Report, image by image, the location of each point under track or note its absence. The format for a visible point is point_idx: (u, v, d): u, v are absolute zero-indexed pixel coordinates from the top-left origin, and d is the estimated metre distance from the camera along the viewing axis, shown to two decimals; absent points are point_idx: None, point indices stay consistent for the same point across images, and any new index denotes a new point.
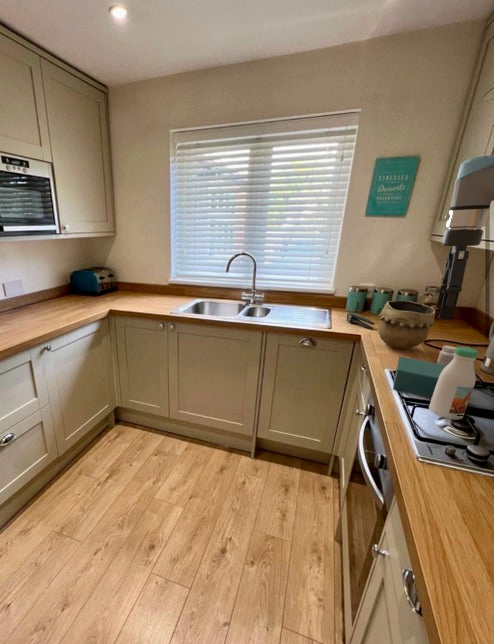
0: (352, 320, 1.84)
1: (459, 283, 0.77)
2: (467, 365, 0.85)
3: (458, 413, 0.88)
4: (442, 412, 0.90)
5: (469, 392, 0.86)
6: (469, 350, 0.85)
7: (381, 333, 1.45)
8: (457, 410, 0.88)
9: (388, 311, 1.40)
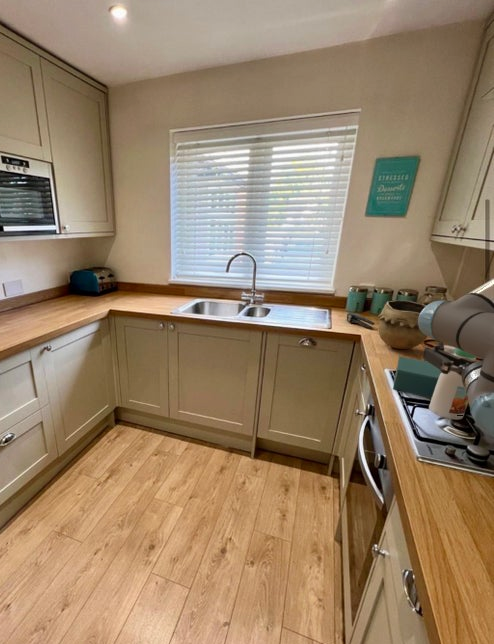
0: (352, 320, 1.84)
1: None
2: None
3: (458, 413, 0.88)
4: (442, 412, 0.90)
5: None
6: None
7: (381, 333, 1.45)
8: (457, 410, 0.88)
9: (388, 311, 1.40)
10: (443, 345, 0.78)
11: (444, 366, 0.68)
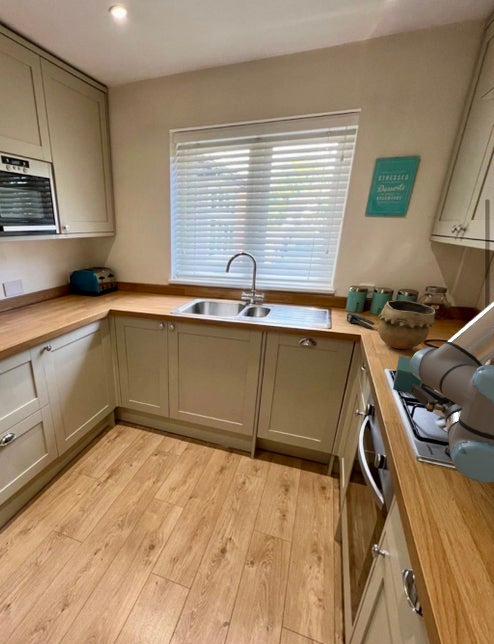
0: (352, 320, 1.84)
1: None
2: None
3: None
4: None
5: None
6: None
7: (381, 333, 1.45)
8: None
9: (388, 311, 1.40)
10: None
11: (429, 405, 0.75)
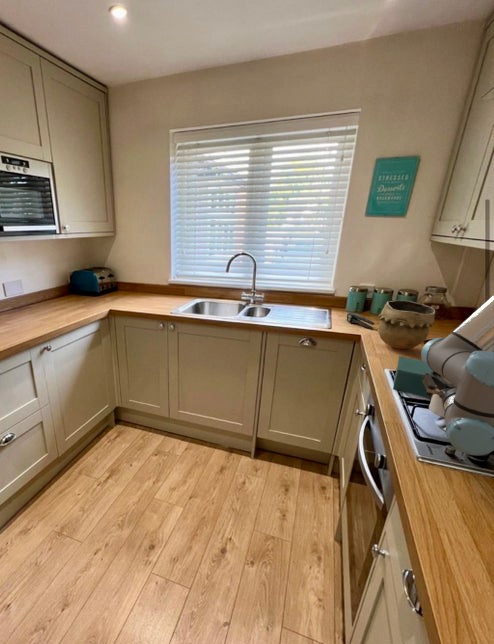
0: (352, 320, 1.84)
1: None
2: None
3: None
4: (442, 412, 0.90)
5: None
6: None
7: (381, 333, 1.45)
8: None
9: (388, 311, 1.40)
10: None
11: (427, 389, 0.83)
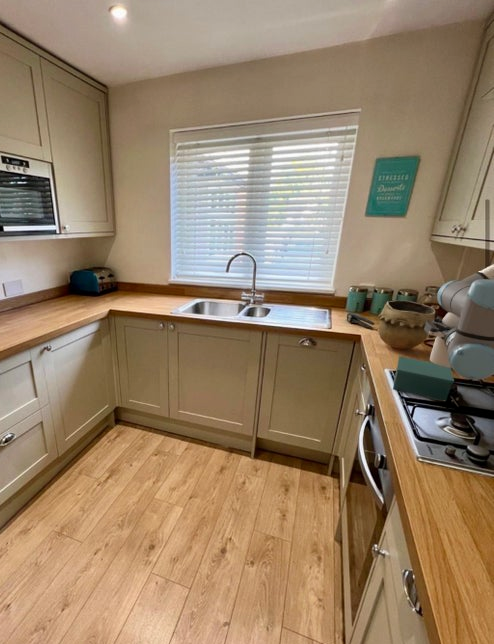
0: (352, 320, 1.84)
1: None
2: None
3: None
4: (443, 358, 0.92)
5: None
6: None
7: (381, 333, 1.45)
8: None
9: (388, 311, 1.40)
10: None
11: (429, 331, 0.85)
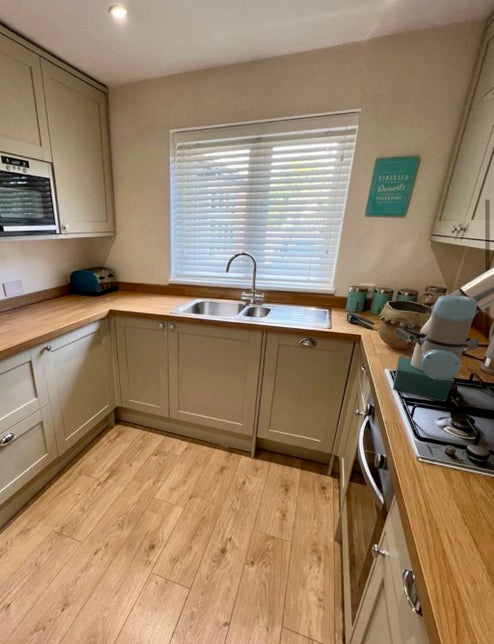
0: (352, 320, 1.84)
1: (477, 342, 0.94)
2: None
3: None
4: None
5: None
6: None
7: (381, 333, 1.45)
8: None
9: (388, 311, 1.40)
10: None
11: (409, 339, 0.97)
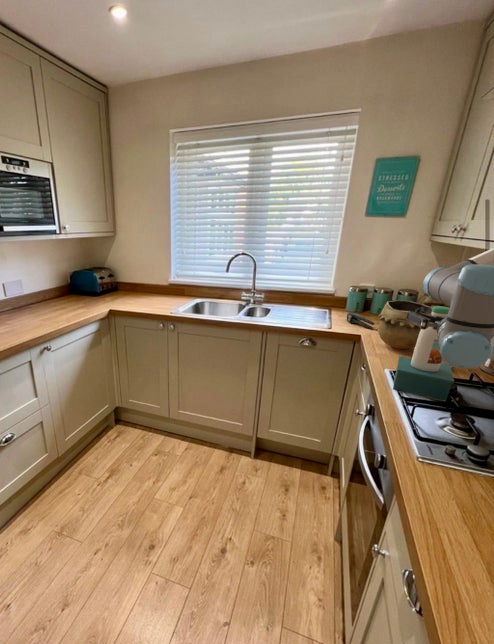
0: (352, 320, 1.84)
1: None
2: None
3: (435, 363, 1.03)
4: (422, 363, 1.04)
5: None
6: (443, 308, 1.00)
7: (381, 333, 1.45)
8: (434, 360, 1.03)
9: (388, 311, 1.40)
10: None
11: (422, 323, 0.82)
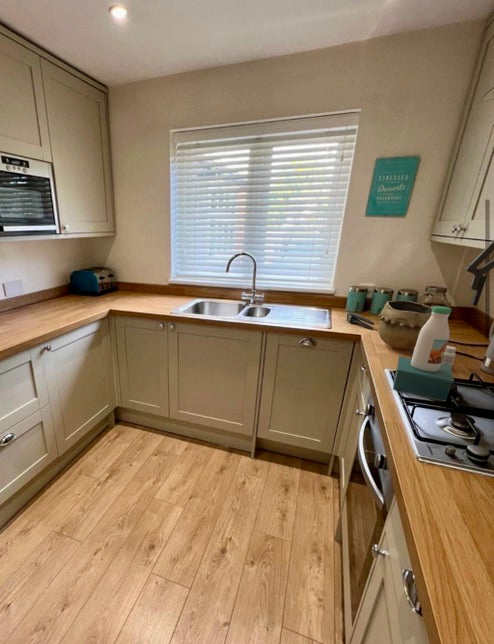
0: (352, 320, 1.84)
1: (472, 263, 0.74)
2: (442, 320, 1.00)
3: (435, 363, 1.03)
4: (422, 363, 1.04)
5: (444, 344, 1.01)
6: (443, 308, 1.00)
7: (381, 333, 1.45)
8: (434, 360, 1.03)
9: (388, 311, 1.40)
10: None
11: None
